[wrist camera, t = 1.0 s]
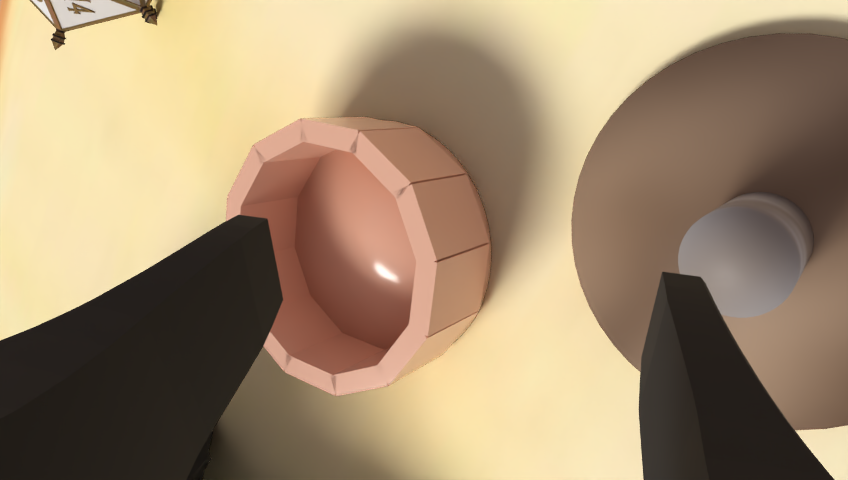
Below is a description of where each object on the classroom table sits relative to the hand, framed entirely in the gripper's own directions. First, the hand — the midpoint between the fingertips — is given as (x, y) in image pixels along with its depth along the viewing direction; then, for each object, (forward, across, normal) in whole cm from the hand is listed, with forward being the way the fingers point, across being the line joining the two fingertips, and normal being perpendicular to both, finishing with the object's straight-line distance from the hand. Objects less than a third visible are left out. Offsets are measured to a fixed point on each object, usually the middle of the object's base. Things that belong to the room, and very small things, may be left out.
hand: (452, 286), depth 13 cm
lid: (+9, -8, +4) cm, 13 cm away
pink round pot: (+12, +6, +9) cm, 16 cm away
